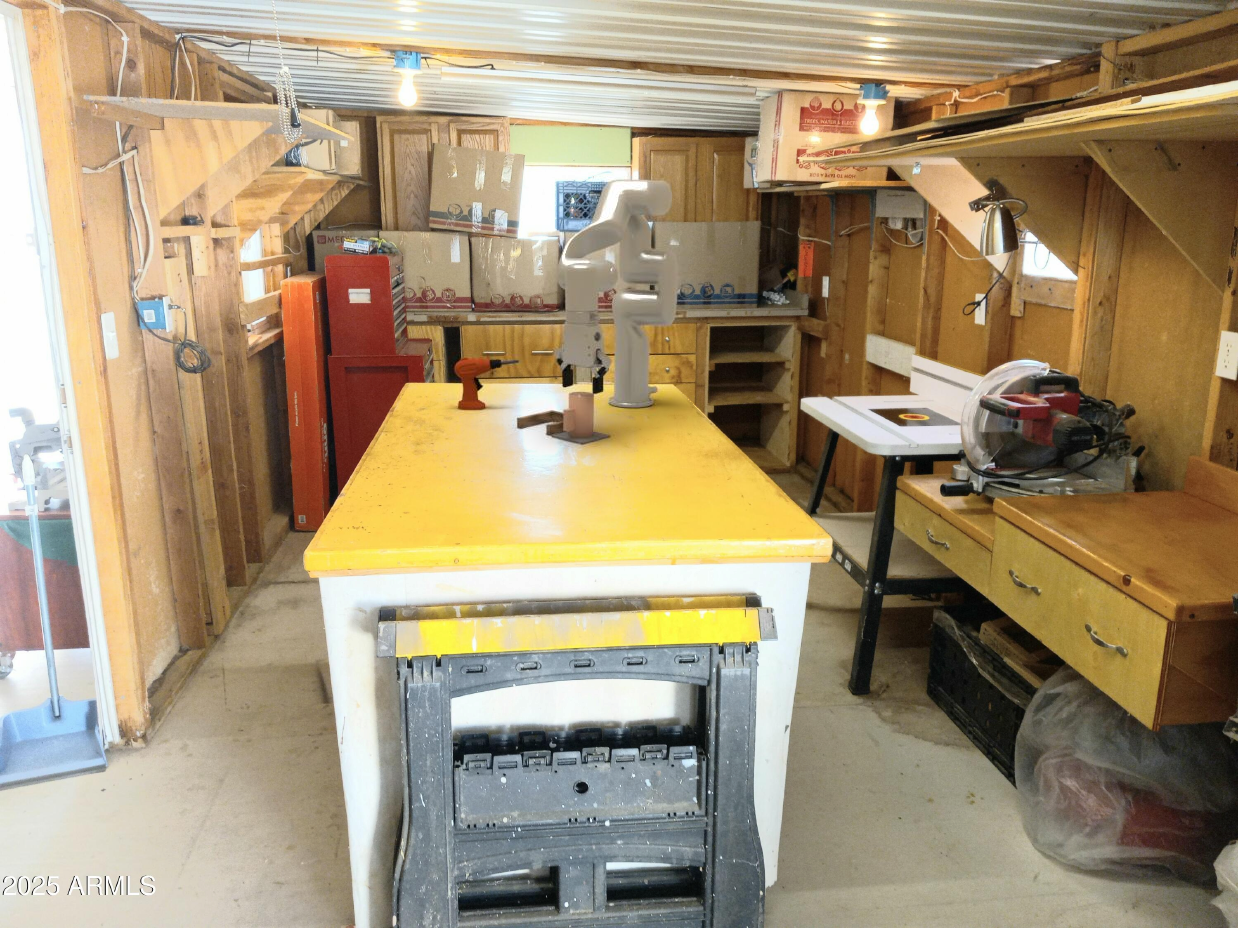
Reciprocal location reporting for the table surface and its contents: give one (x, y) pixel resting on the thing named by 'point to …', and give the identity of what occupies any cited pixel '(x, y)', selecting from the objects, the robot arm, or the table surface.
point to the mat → (580, 440)
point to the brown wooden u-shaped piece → (543, 421)
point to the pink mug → (579, 415)
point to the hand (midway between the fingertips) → (582, 389)
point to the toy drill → (475, 379)
